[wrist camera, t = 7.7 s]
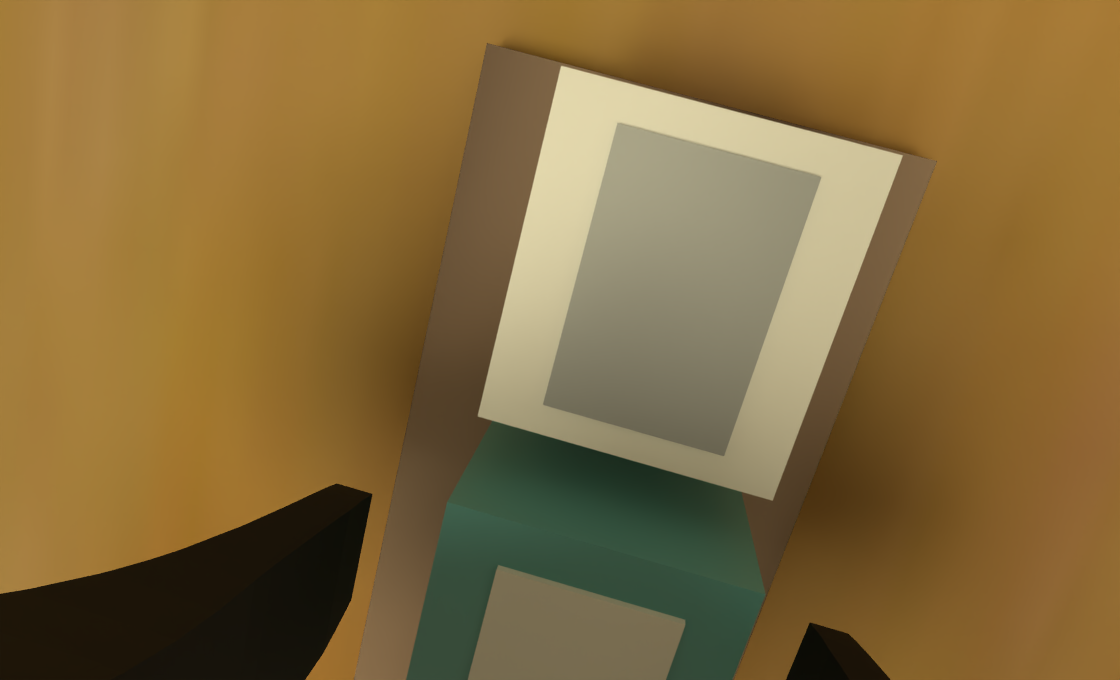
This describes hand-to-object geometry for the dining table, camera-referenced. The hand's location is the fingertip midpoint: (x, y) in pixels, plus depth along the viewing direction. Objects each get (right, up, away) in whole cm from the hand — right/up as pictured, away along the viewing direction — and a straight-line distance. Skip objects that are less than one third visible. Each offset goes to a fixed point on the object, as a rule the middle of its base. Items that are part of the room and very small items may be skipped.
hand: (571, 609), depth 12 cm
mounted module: (+2, +6, +1) cm, 6 cm away
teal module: (0, +1, +3) cm, 3 cm away
